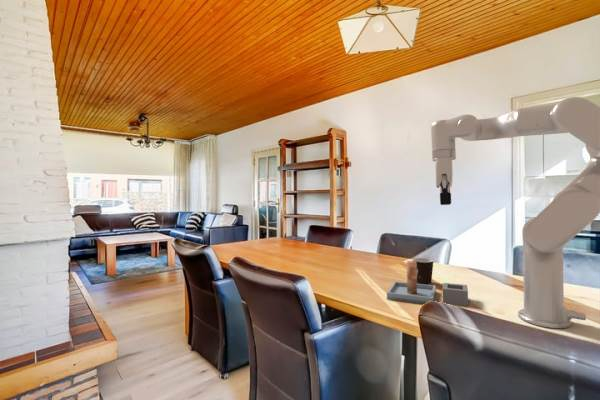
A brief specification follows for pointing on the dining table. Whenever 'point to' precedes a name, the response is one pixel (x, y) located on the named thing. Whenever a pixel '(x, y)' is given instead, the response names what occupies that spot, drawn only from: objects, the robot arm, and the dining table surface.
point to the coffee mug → (424, 270)
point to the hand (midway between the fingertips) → (446, 204)
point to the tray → (400, 294)
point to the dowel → (411, 277)
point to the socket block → (455, 293)
